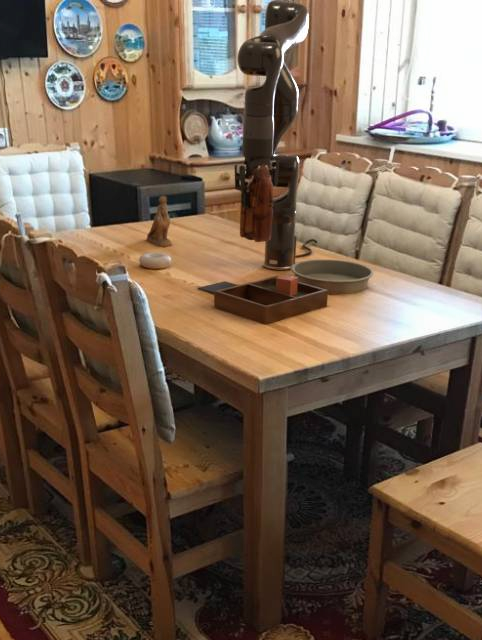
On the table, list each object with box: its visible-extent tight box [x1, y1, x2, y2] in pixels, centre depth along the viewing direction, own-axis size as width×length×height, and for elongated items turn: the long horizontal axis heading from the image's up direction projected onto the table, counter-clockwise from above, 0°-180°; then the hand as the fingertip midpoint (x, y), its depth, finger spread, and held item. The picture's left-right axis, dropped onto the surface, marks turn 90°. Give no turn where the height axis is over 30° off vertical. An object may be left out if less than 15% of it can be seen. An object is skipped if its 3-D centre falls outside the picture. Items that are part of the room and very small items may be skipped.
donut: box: [138, 252, 172, 270], centre depth 255 cm, size 10×3×10 cm
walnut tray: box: [213, 275, 329, 325], centre depth 221 cm, size 25×19×4 cm
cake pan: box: [290, 259, 374, 295], centre depth 244 cm, size 25×25×4 cm
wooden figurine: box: [239, 165, 274, 243], centre depth 207 cm, size 12×6×18 cm, turn 31°
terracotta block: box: [276, 274, 298, 296], centre depth 224 cm, size 4×4×4 cm
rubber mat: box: [197, 280, 238, 295], centre depth 235 cm, size 11×11×1 cm
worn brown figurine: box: [146, 194, 172, 247], centre depth 279 cm, size 12×6×18 cm, turn 26°
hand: (255, 206), depth 208 cm, fingers closed on wooden figurine, 6 cm apart
